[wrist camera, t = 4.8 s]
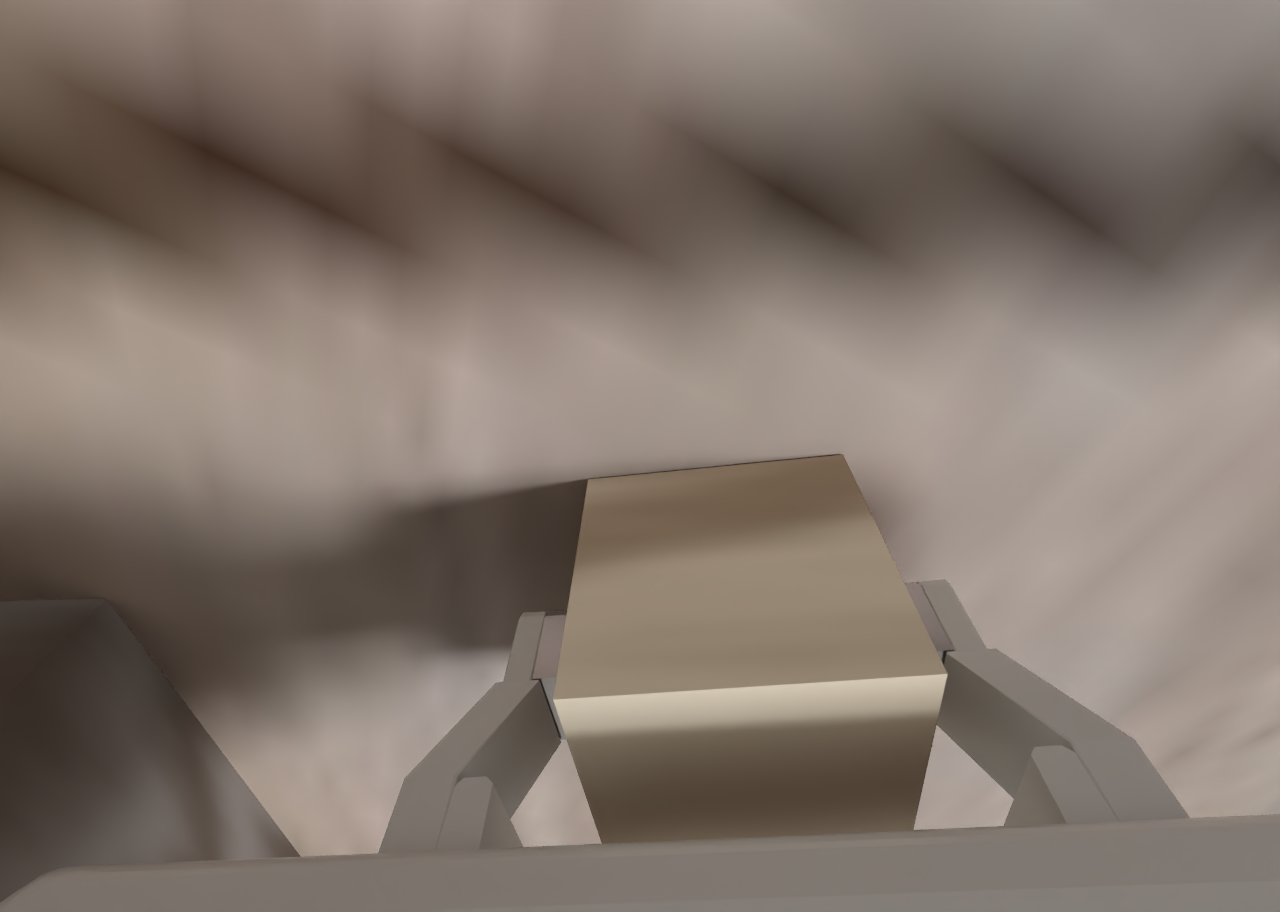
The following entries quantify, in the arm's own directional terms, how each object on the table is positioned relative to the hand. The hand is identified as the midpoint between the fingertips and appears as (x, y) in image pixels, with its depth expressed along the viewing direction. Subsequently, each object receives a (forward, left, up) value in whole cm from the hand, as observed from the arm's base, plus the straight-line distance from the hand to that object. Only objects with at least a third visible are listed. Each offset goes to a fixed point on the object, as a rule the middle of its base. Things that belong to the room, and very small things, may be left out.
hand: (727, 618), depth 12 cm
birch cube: (0, 0, -2) cm, 2 cm away
